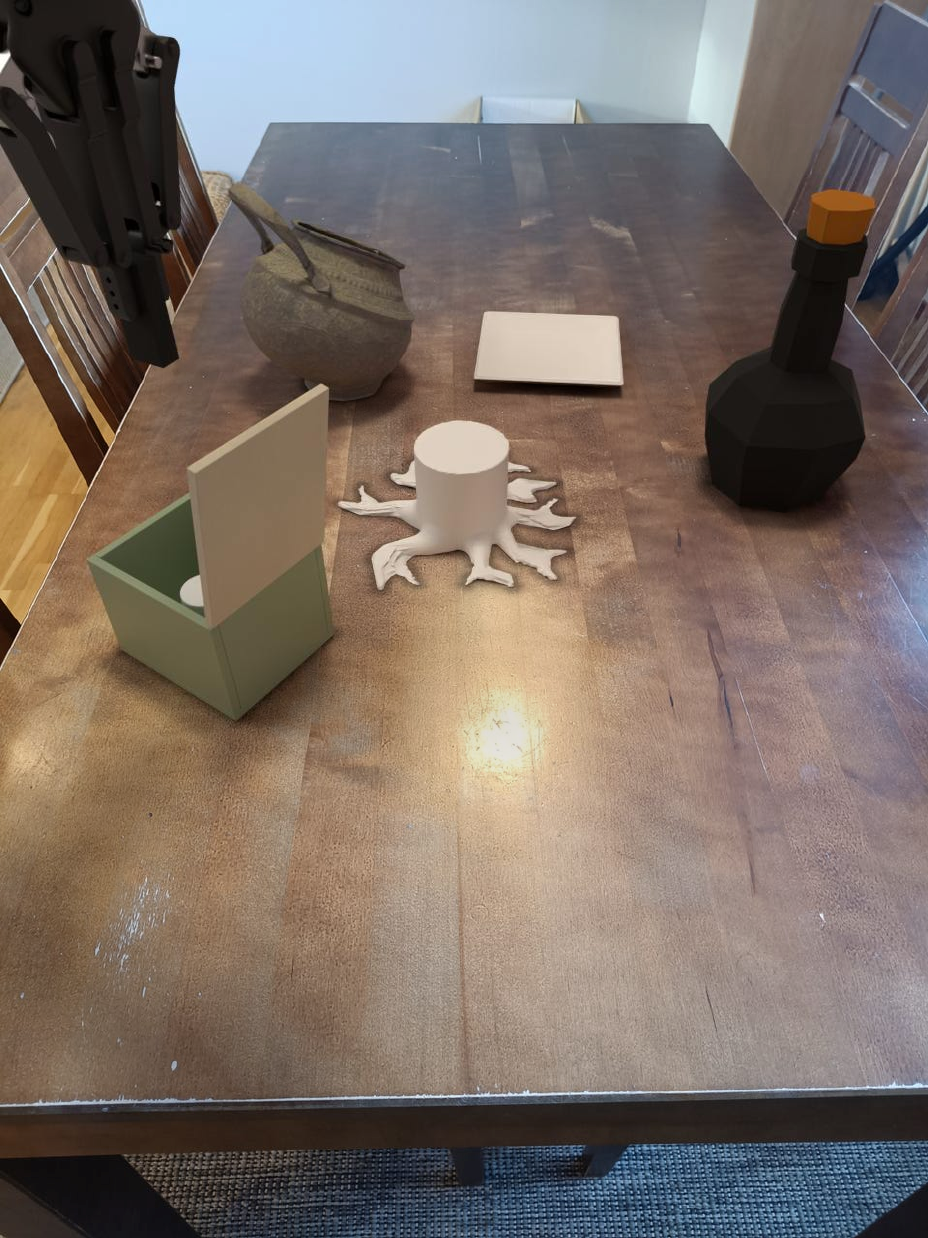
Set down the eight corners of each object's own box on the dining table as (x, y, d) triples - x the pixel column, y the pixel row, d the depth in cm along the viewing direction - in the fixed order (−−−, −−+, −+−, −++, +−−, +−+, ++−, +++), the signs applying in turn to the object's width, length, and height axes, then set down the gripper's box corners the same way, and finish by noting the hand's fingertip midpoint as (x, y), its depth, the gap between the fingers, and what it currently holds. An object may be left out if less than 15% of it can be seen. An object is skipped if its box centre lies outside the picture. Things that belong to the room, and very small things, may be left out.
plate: (616, 329, 126) (618, 314, 124) (621, 398, 112) (623, 383, 111) (483, 323, 127) (484, 309, 125) (473, 391, 113) (473, 376, 112)
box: (121, 650, 81) (85, 559, 74) (222, 574, 89) (199, 484, 81) (236, 721, 75) (210, 630, 68) (334, 634, 83) (321, 543, 75)
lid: (185, 467, 56) (195, 473, 56) (320, 382, 63) (329, 387, 63) (205, 623, 67) (213, 629, 67) (317, 536, 75) (324, 541, 75)
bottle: (866, 518, 95) (979, 229, 74) (716, 530, 93) (788, 239, 72) (807, 435, 106) (890, 164, 85) (672, 445, 105) (723, 172, 84)
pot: (254, 434, 107) (213, 217, 89) (256, 351, 121) (221, 151, 104) (426, 419, 109) (418, 205, 91) (408, 339, 123) (398, 141, 106)
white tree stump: (598, 579, 88) (609, 502, 81) (342, 602, 86) (332, 525, 79) (552, 450, 104) (558, 377, 97) (336, 466, 102) (327, 393, 95)
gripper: (76, -134, 46) (178, 306, 63) (-153, -109, 38) (34, 390, 54) (189, -127, 44) (264, 329, 60) (-30, -99, 35) (127, 421, 52)
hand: (155, 358), depth 57 cm, fingers closed
